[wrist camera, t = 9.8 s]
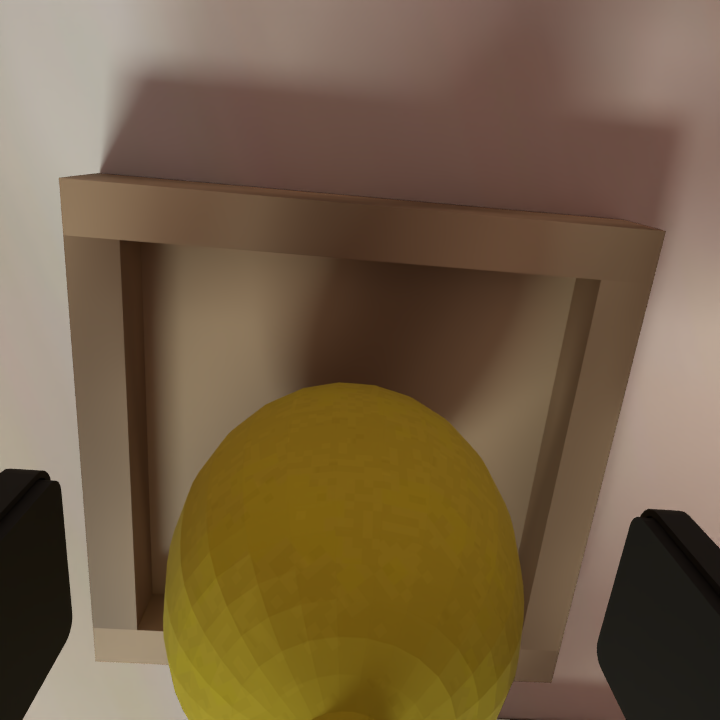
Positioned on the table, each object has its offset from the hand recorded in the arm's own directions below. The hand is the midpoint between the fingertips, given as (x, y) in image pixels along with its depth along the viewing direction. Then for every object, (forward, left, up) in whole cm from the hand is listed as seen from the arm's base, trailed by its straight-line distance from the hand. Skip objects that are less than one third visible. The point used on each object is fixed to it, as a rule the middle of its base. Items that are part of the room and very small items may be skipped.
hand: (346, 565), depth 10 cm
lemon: (0, 0, -4) cm, 4 cm away
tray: (0, 0, -5) cm, 5 cm away
